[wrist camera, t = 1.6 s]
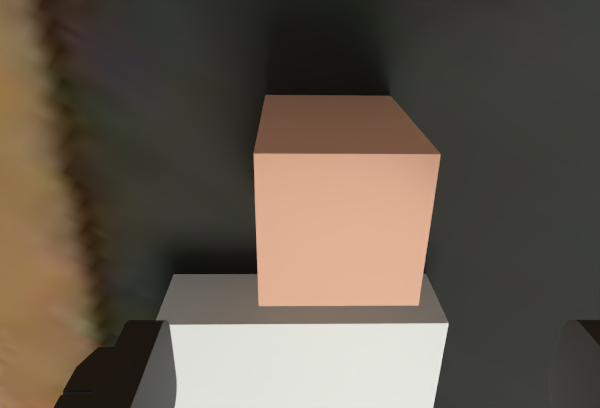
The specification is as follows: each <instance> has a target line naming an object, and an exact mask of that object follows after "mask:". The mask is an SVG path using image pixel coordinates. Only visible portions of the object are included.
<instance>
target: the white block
mask: <svg viewBox="0 0 600 408" xmlns="http://www.w3.org/2000/svg"><path fill="white" fill-rule="evenodd" d="M156 320H167V321H168V323H169V326H170V331H171V339H172V347H173V355H174V362H175V370H176V379H177V392H176V402H175V408H433V405H434V400H435V395H436V389H437V384H438V378H439V373H440V367H441V362H442V357H443V351H444V346H445V340H446V335H447V330H448V324H449V323H448V321H447V319H446V316H445V314H444V312H443V310H442V308H441V306H440V303H439V301H438V299H437V297H436V295H435V293H434V290H433V288H432V286H431V284H430V282H429V280H428V277H427V275H426V274H423V279H422V286H421V292H420V299H419V306H259V302H258V274H174V275H173V277H172V280H171V283H170V285H169V288H168V290H167V293H166V296H165V298H164V301H163V303H162V306H161V308H160V311H159V314H158V316H157V319H156Z"/></svg>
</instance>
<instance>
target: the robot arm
mask: <svg viewBox="0 0 600 408" xmlns="http://www.w3.org/2000/svg"><path fill="white" fill-rule="evenodd" d="M547 388H548V395H549V399H550V402H551V405H552V407H553V408H600V320H570V321H568V322H566V324H565V325H564V327H563V329H562V332H561V335H560V339H559V342H558V345H557V349H556V352H555V355H554V358H553V362H552V365H551V368H550V372H549V375H548V380H547ZM176 392H177V379H176V370H175V362H174V355H173V347H172V339H171V331H170V326H169V323H168V321H167V320H130V321H128V322H127V323H126V324H125V326H124V328H123V330H122V332H121V334H120V336H119V338H118V340H117V342H116V344H115V346H114V347H98V348H97V349H96V350H95V351H94V352H93V353H91V354H90V355H89V356H88V357H87V358H86V359H85V360H84V361H83V362H81V363H80V364H79V365H78V366H77V367H76V369H75V370H74V372H73V374H72V376H71V378H70V379H69V381H68V383H67V385H66V387H65V388H64V390H63V395H61V396H60V397H59V399H58V401H57V403H56V404H55V406H54V408H175V402H176Z"/></svg>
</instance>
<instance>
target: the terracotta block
mask: <svg viewBox="0 0 600 408" xmlns="http://www.w3.org/2000/svg"><path fill="white" fill-rule="evenodd" d="M440 156H441V154H440V153H439V152H438V150H437V149H436V148H435V147H434V146H433V145H432V143H431V142H430V141H429V140H428V139H427V138H426V137H425V135H424V134H423V133H422V132H421V131H420V130H419V128H418V127H417V126H416V125H415V124H414V123H413V121H412V120H411V119H410V118H409V117H408V116H407V114H406V113H405V112H404V111H403V110H402V109H401V107H400V106H399V105H398V104H397V103H396V102H395V100H394V99H393V98H392V97H391V96H356V95H265V99H264V104H263V109H262V114H261V119H260V124H259V129H258V134H257V139H256V144H255V149H254V180H255V211H256V241H257V272H258V302H259V306H419V299H420V292H421V286H422V279H423V272H424V265H425V258H426V251H427V245H428V238H429V231H430V224H431V217H432V210H433V203H434V197H435V190H436V183H437V176H438V169H439V162H440Z"/></svg>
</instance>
